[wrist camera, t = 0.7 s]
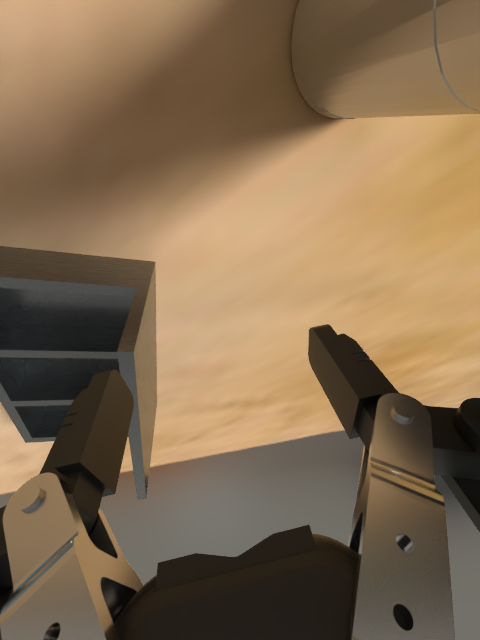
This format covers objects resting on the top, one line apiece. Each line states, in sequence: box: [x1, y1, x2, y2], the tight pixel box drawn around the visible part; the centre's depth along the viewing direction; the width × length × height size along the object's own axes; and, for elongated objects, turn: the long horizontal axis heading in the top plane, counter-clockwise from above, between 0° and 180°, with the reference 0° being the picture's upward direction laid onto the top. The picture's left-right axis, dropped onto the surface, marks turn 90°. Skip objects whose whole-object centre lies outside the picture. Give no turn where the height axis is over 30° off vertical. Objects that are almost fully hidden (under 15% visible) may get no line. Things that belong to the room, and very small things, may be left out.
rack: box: [0, 246, 157, 499], centre depth 27 cm, size 25×16×14 cm, turn 169°
